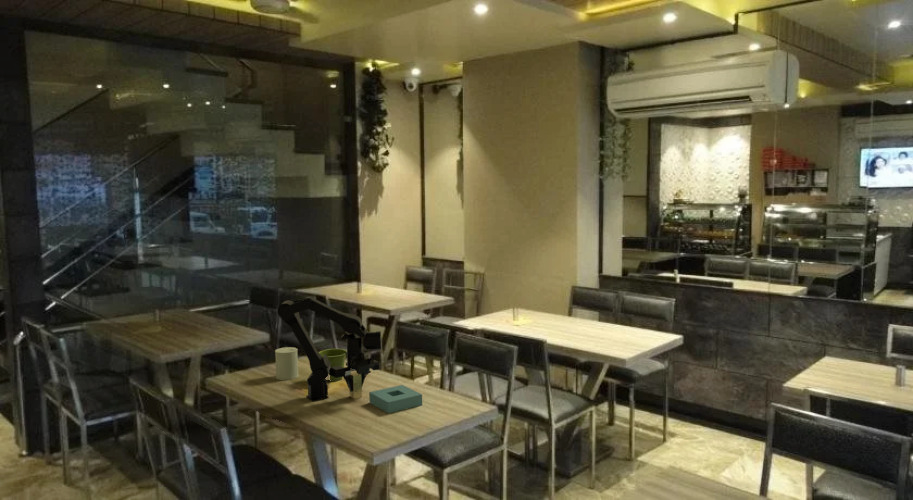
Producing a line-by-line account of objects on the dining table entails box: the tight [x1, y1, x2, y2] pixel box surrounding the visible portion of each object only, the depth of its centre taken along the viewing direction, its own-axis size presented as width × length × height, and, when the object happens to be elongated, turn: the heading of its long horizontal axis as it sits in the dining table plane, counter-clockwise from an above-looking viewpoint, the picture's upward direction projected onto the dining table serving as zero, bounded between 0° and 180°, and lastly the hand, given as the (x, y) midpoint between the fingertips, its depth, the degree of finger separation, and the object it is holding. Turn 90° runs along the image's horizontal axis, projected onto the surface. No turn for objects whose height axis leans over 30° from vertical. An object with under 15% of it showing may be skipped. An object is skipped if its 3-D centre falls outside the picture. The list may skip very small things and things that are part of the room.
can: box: [274, 346, 300, 381], centre depth 271 cm, size 9×9×12 cm
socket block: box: [368, 384, 423, 414], centre depth 237 cm, size 14×14×4 cm
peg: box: [349, 371, 363, 400], centre depth 245 cm, size 3×3×9 cm
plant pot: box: [318, 348, 347, 382], centre depth 267 cm, size 12×12×11 cm
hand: (355, 390), depth 245 cm, fingers closed on peg, 3 cm apart
